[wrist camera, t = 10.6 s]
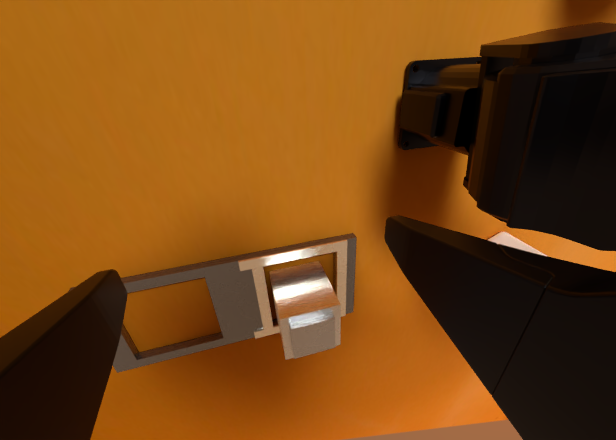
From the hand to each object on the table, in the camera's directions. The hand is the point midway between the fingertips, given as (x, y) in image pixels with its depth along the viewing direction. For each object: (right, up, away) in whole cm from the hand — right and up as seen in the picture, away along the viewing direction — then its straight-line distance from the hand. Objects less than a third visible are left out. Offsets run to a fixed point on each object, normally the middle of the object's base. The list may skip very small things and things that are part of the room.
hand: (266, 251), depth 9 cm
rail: (-5, -7, +17) cm, 19 cm away
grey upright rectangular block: (0, -6, +19) cm, 19 cm away
